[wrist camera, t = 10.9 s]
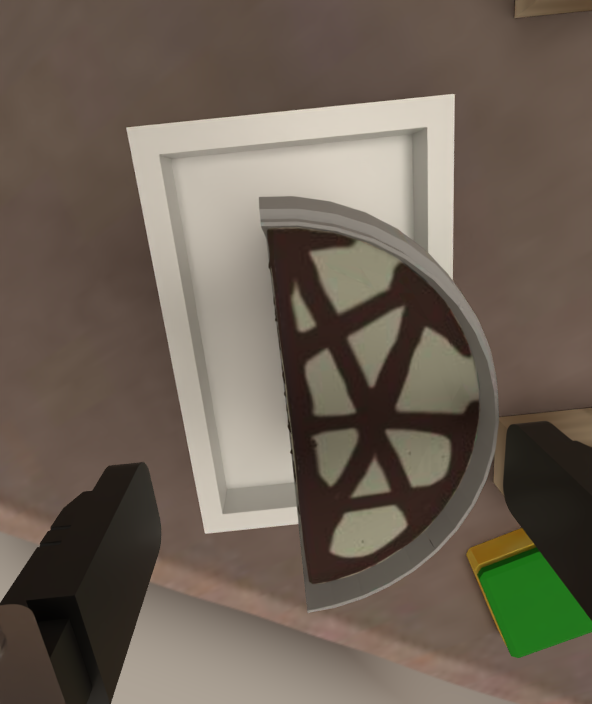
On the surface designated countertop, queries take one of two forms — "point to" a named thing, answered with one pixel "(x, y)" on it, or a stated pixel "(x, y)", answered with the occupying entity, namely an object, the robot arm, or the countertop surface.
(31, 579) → the robot arm
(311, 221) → the food container
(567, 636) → the dish sponge
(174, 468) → the countertop surface
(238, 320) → the tray
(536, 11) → the holder
